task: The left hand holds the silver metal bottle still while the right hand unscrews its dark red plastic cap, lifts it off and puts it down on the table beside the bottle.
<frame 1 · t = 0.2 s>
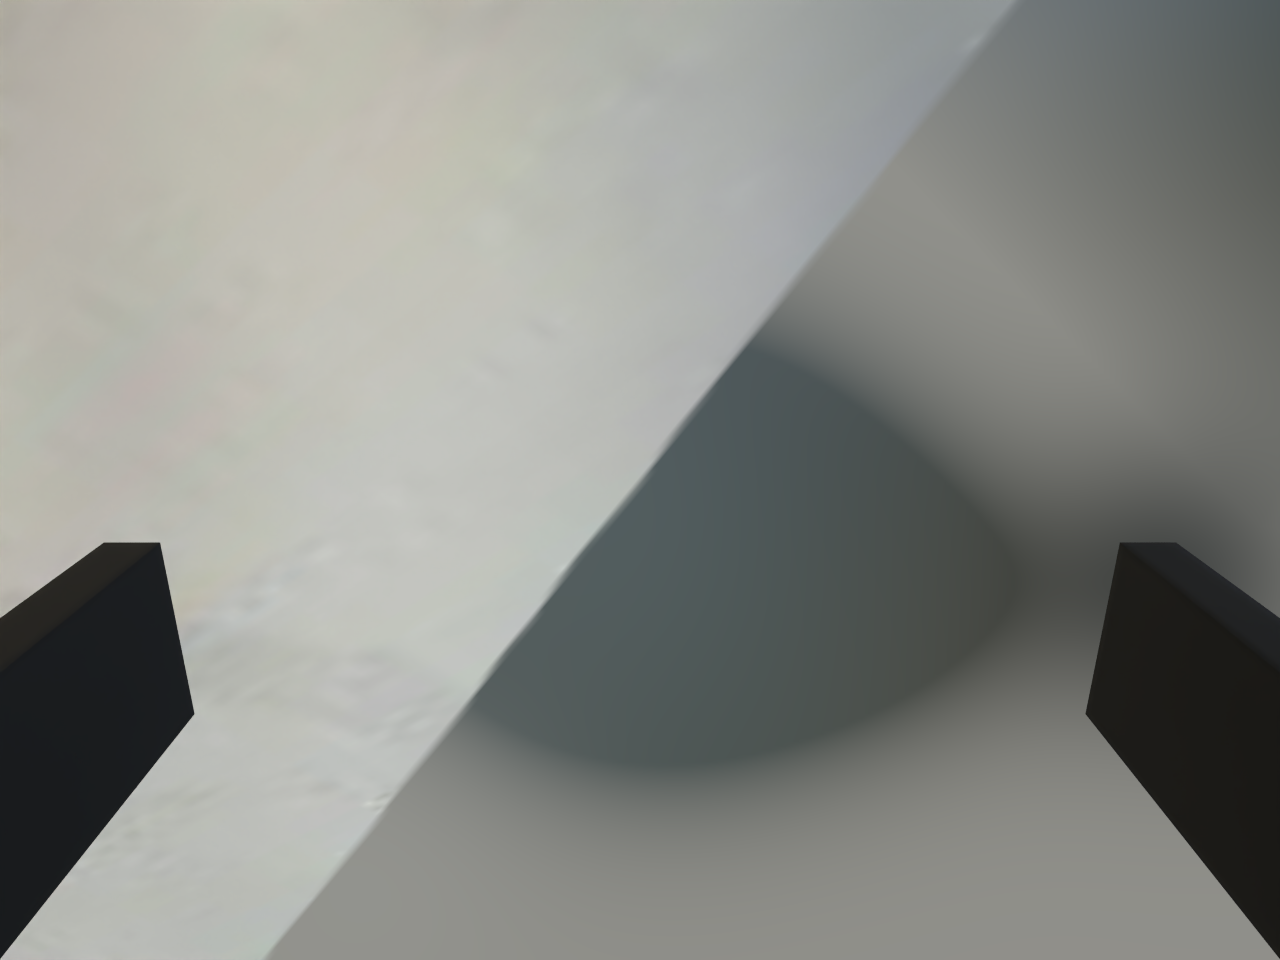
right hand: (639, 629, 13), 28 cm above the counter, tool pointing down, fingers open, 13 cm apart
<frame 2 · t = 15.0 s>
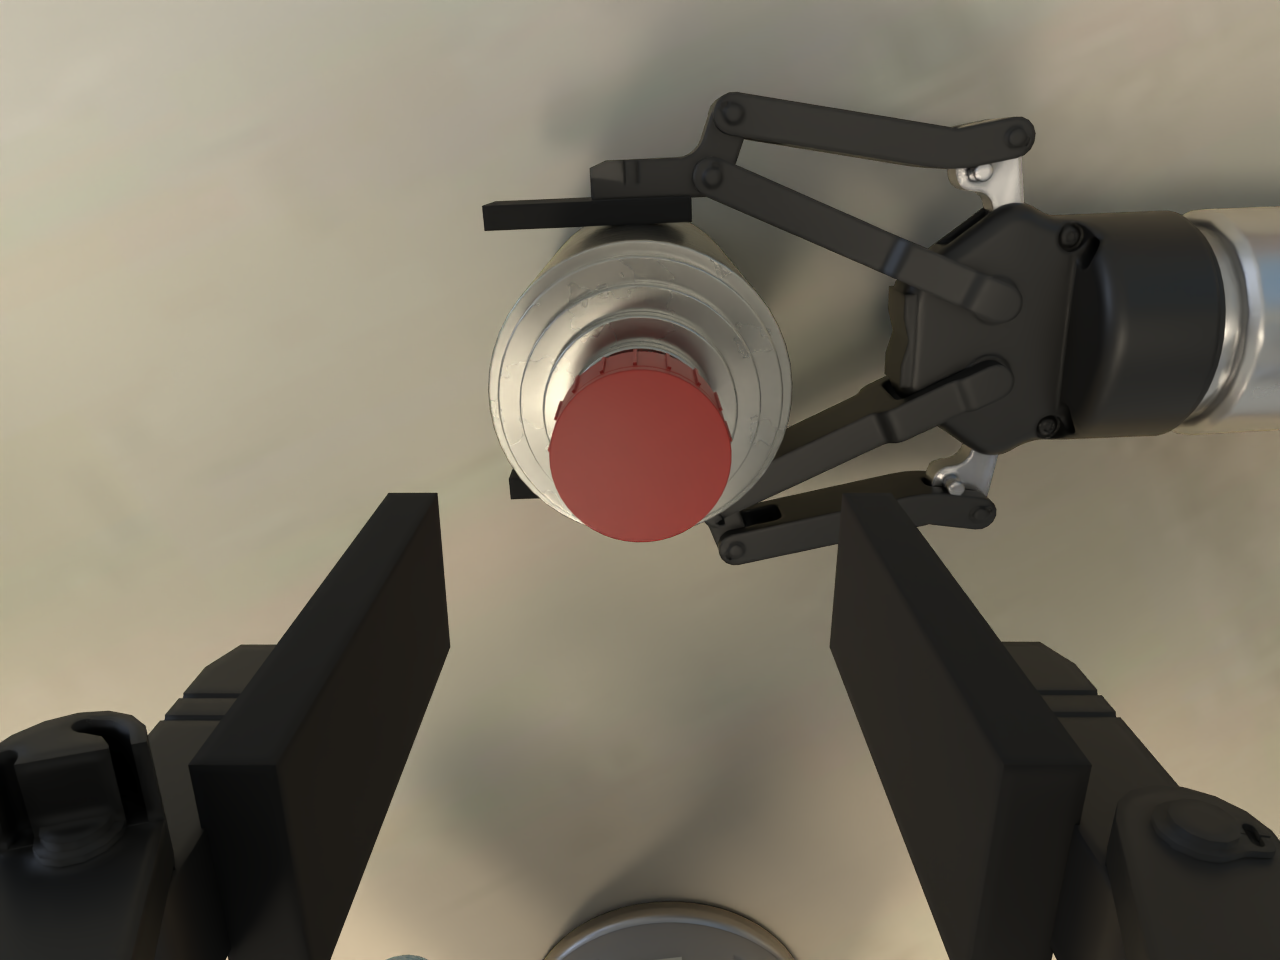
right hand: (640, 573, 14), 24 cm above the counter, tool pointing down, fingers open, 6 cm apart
left hand: (503, 352, 31), fingers closed on bottle, 8 cm apart
bottle: (640, 316, 36), on the counter, touching left hand
cap: (640, 454, 20), point 18 cm above the counter, screwed on, not yet turned
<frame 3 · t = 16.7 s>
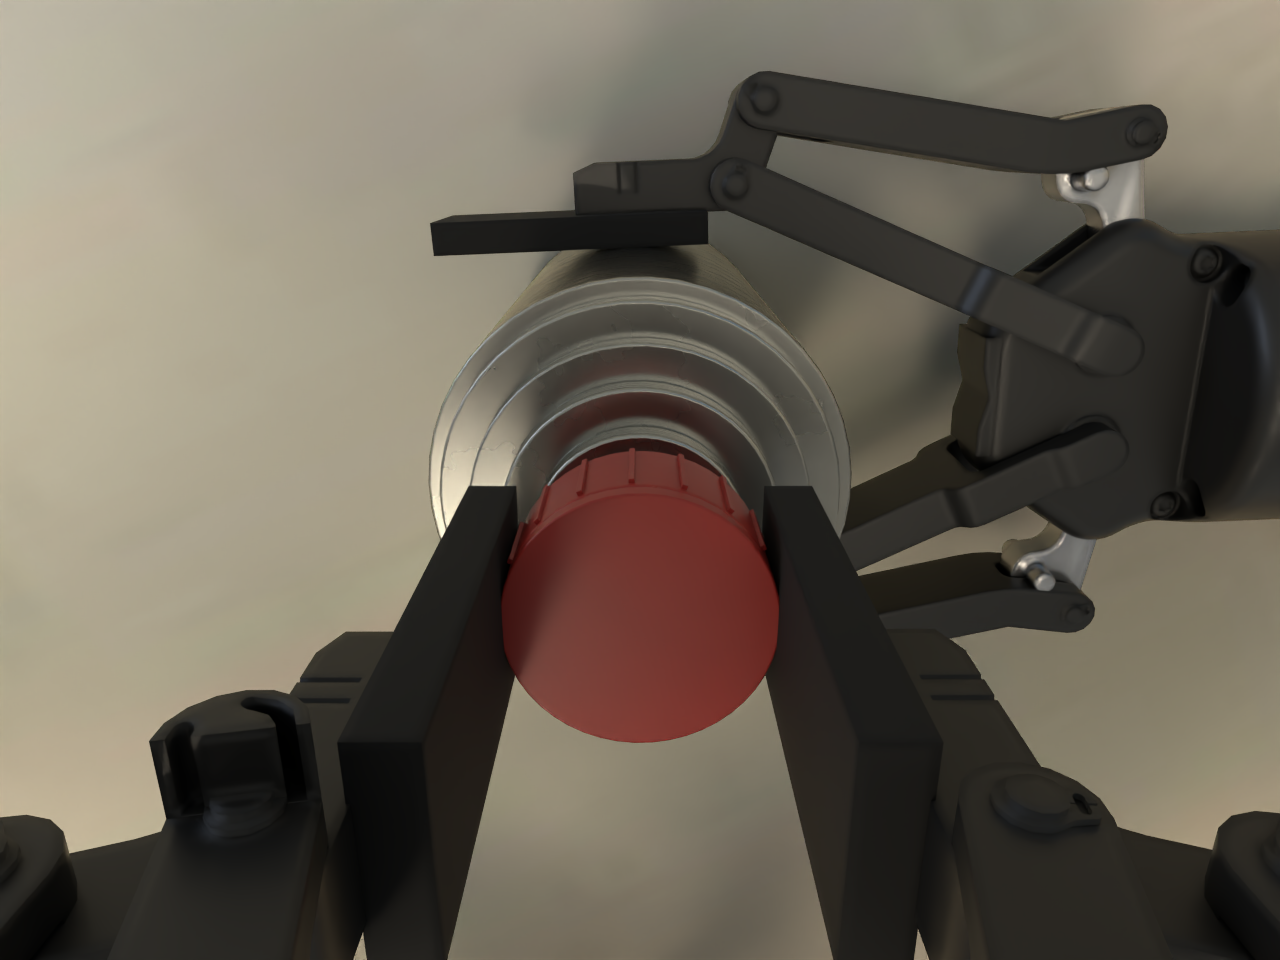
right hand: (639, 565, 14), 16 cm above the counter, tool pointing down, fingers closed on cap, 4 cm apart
left hand: (464, 409, 24), fingers closed on bottle, 8 cm apart
bottle: (639, 353, 30), on the counter, touching left hand
cap: (640, 615, 13), point 18 cm above the counter, screwed on, not yet turned, touching right hand
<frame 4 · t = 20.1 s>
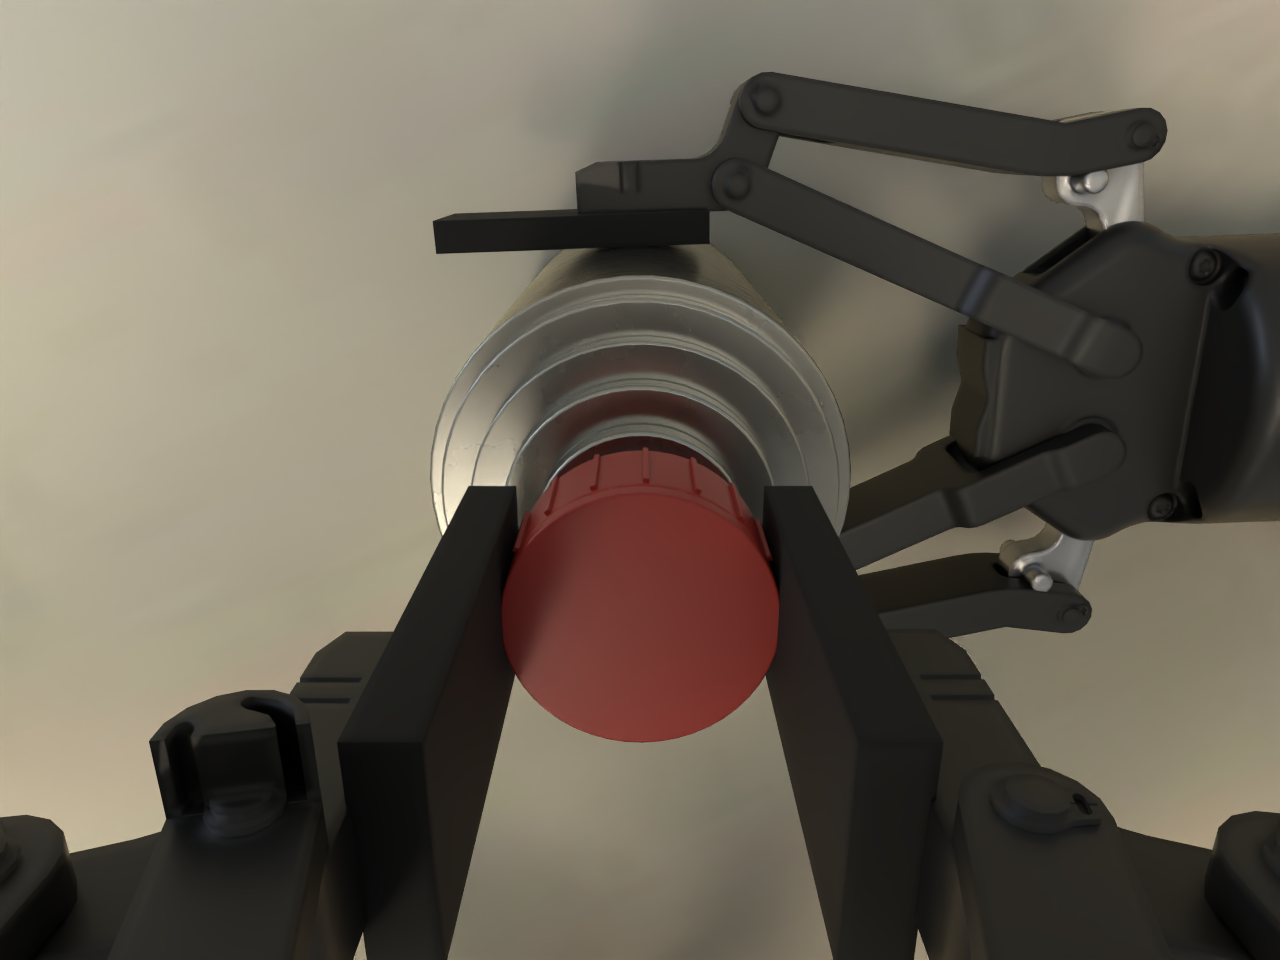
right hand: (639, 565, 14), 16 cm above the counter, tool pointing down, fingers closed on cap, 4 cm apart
left hand: (465, 407, 24), fingers closed on bottle, 8 cm apart
bottle: (640, 353, 30), on the counter, touching left hand
cap: (640, 614, 13), point 18 cm above the counter, turned 101° so far, risen 0.1 cm, still on its thread, touching right hand
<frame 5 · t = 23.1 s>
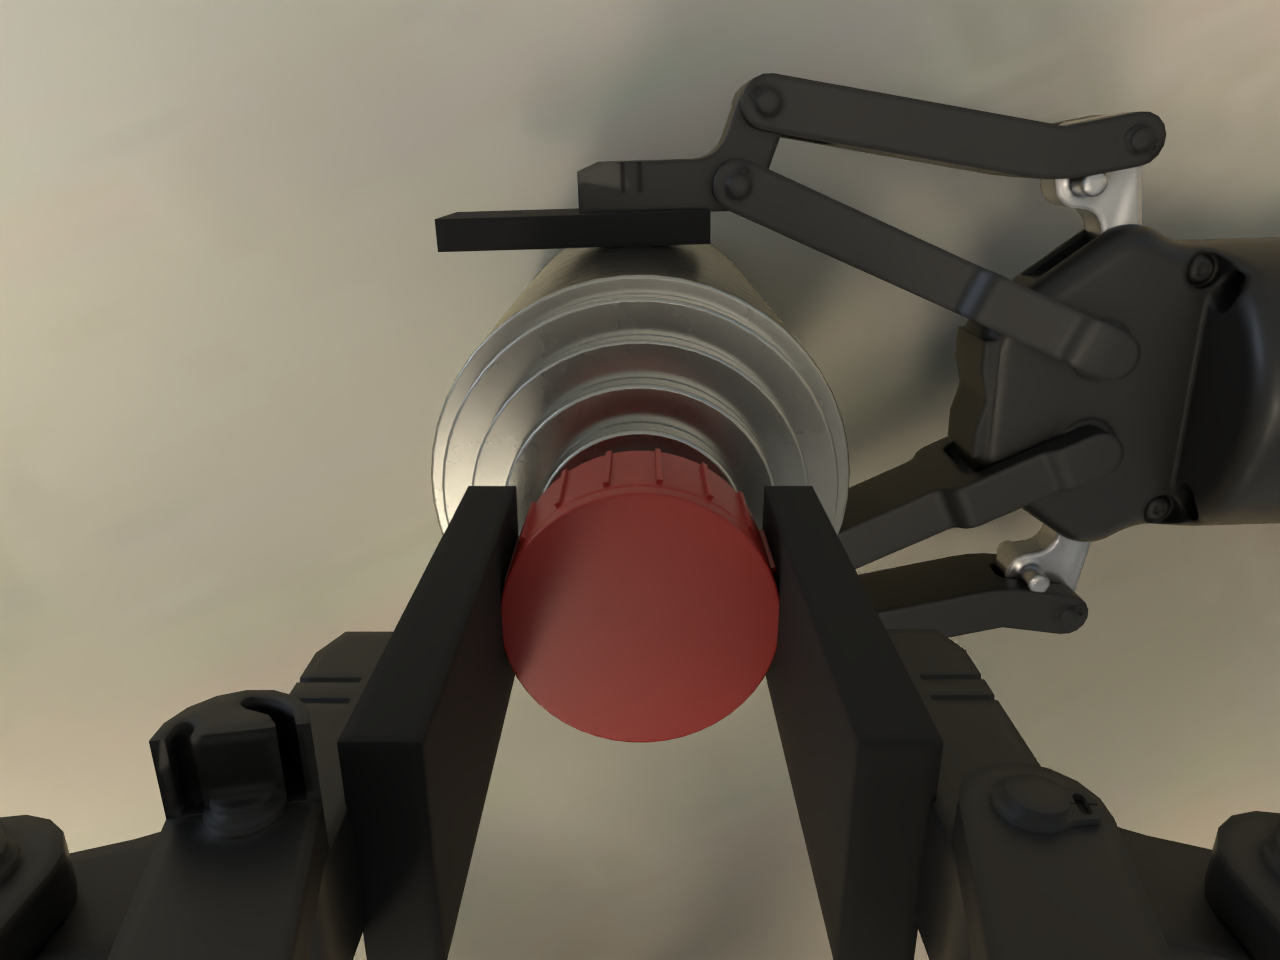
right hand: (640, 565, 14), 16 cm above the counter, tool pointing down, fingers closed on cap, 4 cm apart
left hand: (465, 405, 24), fingers closed on bottle, 8 cm apart
bottle: (640, 352, 30), on the counter, touching left hand
cap: (640, 614, 13), point 18 cm above the counter, turned 202° so far, risen 0.2 cm, still on its thread, touching right hand
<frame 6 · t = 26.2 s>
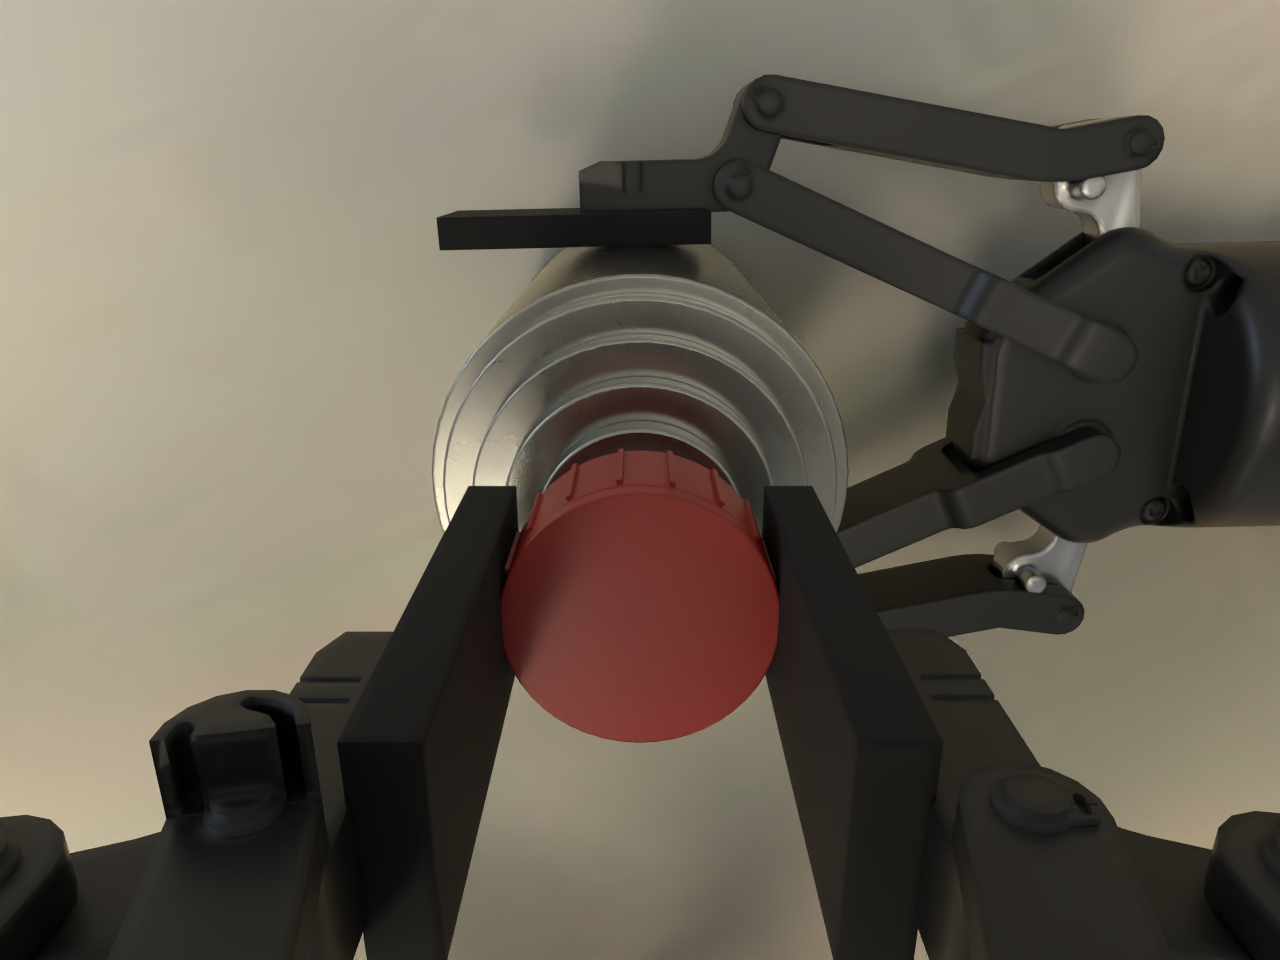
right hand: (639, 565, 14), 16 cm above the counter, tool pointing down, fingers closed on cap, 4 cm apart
left hand: (466, 402, 24), fingers closed on bottle, 8 cm apart
bottle: (640, 351, 30), on the counter, touching left hand
cap: (640, 614, 13), point 18 cm above the counter, turned 303° so far, risen 0.3 cm, still on its thread, touching right hand
when the right hand's fingers open (2 cm above the counter, at t = 32.1 s): cap drops 2 cm, point 2 cm above the counter.
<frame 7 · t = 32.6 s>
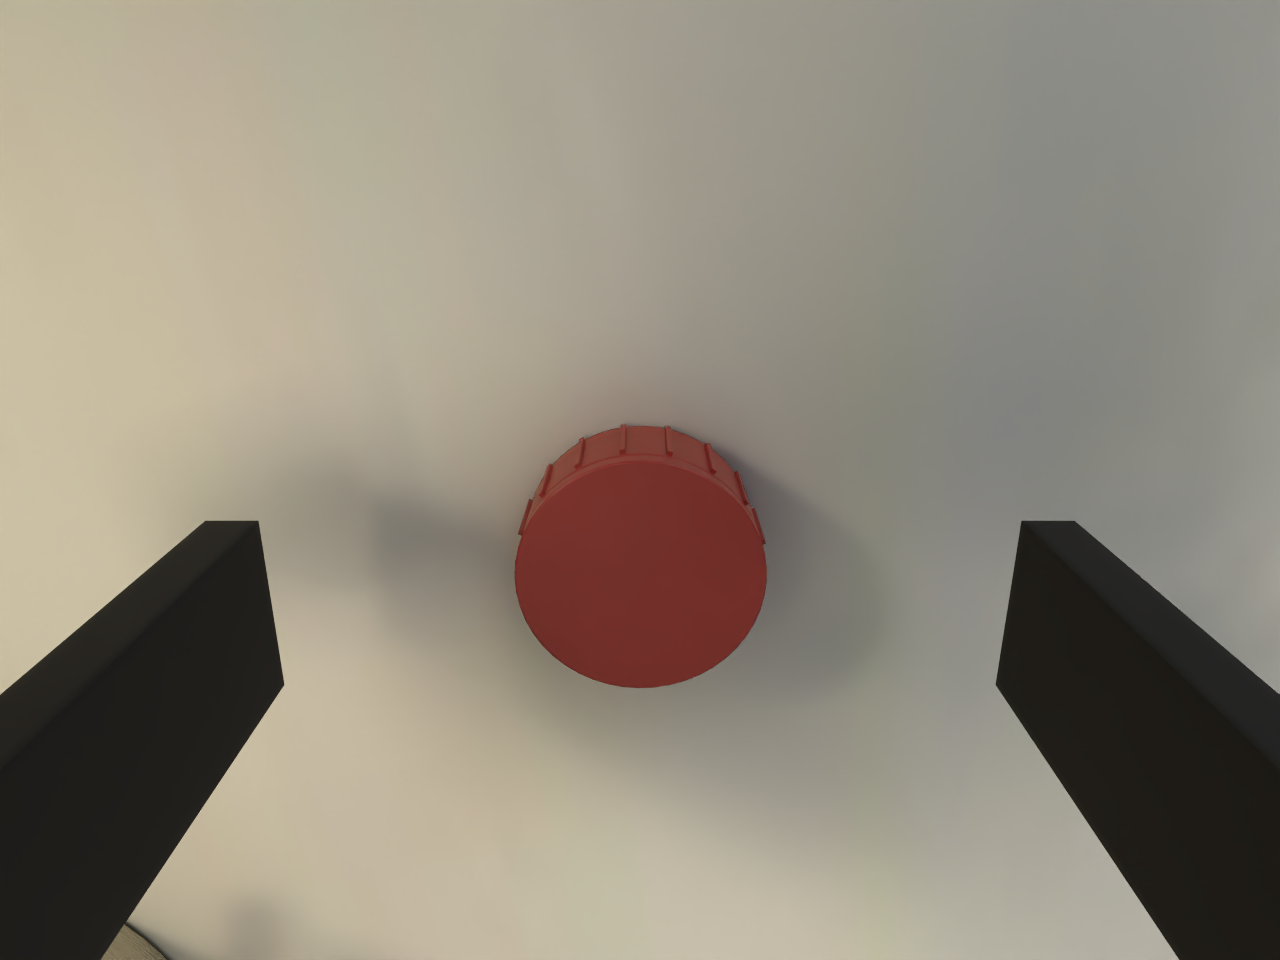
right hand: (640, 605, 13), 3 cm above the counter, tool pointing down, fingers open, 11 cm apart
cap: (640, 572, 14), point 2 cm above the counter, off its thread
when the left hand's fingers open (6 cm above the counter, at t = 33.5 s): bottle stays where it is, on the counter.
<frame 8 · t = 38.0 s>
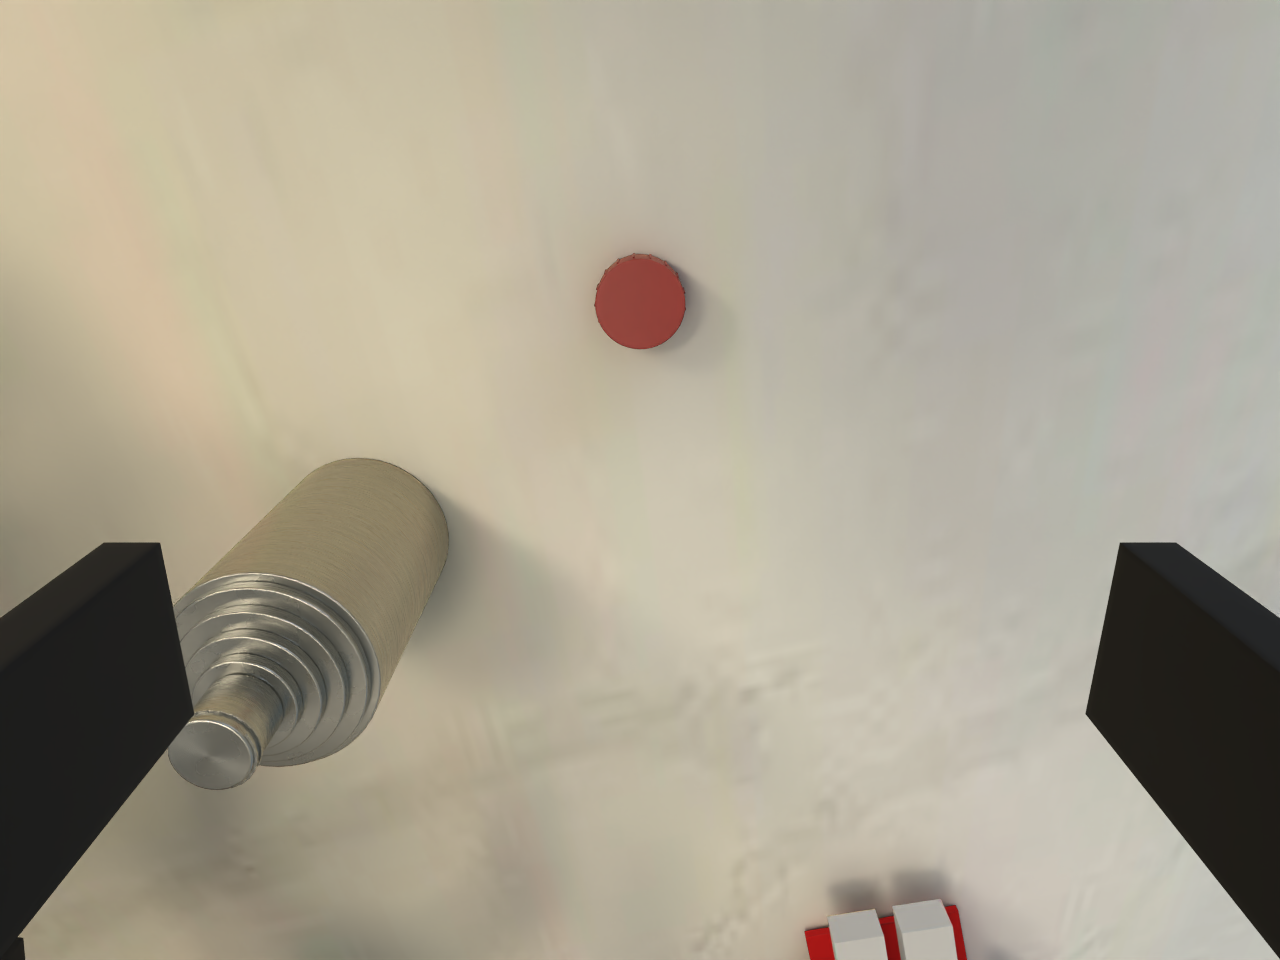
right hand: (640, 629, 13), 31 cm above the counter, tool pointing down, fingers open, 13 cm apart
bottle: (367, 535, 45), on the counter
cap: (640, 303, 40), point 2 cm above the counter, off its thread
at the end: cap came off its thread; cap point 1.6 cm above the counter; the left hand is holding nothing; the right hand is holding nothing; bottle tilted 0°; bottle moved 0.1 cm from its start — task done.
